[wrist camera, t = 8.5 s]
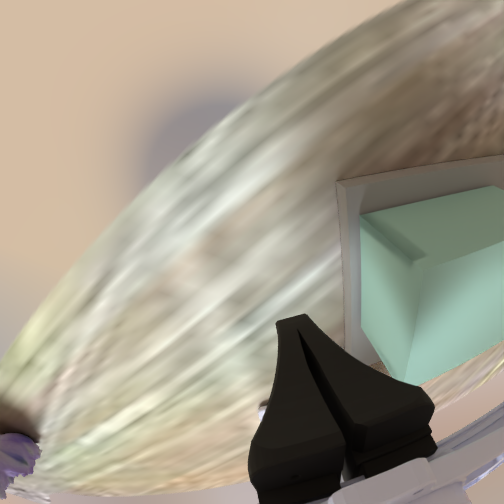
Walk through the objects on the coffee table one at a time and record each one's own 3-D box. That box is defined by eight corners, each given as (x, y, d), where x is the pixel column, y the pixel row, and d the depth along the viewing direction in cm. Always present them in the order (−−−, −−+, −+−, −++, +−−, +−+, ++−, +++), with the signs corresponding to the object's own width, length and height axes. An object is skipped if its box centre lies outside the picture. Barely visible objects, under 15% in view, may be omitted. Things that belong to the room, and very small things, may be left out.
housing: (479, 281, 19) (526, 324, 14) (360, 327, 18) (401, 392, 13) (493, 185, 15) (556, 218, 10) (359, 215, 15) (422, 270, 10)
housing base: (530, 279, 22) (553, 298, 19) (344, 360, 22) (364, 399, 18) (551, 149, 16) (583, 162, 13) (335, 181, 15) (370, 205, 12)
